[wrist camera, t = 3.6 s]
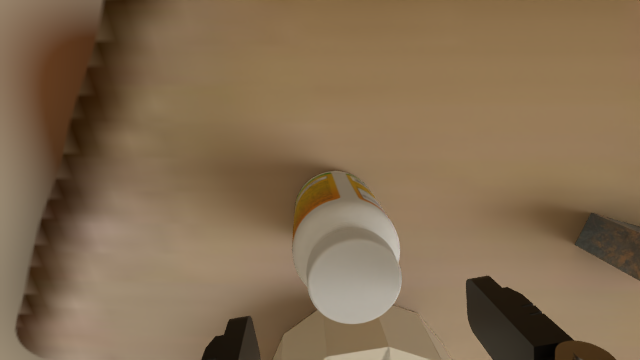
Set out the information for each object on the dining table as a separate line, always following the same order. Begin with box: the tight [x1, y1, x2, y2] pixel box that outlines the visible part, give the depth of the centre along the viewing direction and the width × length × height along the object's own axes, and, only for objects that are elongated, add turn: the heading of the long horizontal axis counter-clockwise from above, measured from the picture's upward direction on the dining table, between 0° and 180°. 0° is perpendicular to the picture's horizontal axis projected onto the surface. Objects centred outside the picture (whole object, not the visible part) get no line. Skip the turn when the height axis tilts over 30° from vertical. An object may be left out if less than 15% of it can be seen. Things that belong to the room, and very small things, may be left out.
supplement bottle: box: [292, 171, 402, 324], centre depth 19 cm, size 5×5×10 cm
